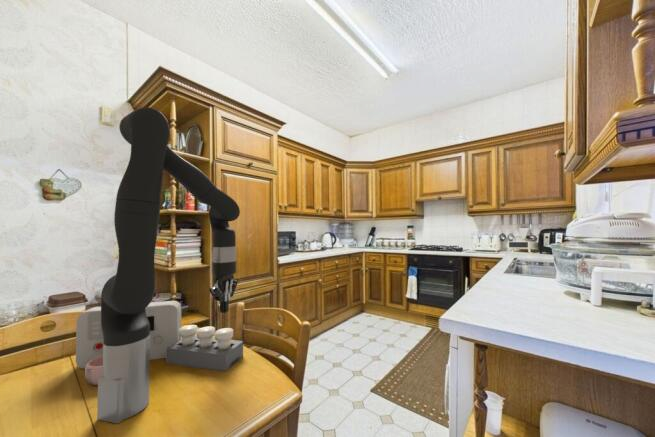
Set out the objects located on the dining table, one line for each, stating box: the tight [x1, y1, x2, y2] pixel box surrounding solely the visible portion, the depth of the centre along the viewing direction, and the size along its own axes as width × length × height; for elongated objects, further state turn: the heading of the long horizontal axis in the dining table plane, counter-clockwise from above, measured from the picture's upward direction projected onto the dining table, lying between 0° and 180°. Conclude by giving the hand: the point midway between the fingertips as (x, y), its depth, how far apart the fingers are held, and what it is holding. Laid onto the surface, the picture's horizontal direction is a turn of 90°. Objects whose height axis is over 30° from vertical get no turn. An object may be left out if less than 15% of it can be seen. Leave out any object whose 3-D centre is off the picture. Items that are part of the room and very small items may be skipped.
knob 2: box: [196, 326, 216, 348], centre depth 88 cm, size 6×6×6 cm
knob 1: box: [179, 324, 198, 346], centre depth 90 cm, size 6×6×6 cm
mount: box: [165, 335, 244, 372], centre depth 88 cm, size 10×22×5 cm, turn 77°
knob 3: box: [214, 327, 234, 351], centre depth 87 cm, size 6×6×6 cm
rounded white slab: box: [75, 300, 182, 369], centre depth 88 cm, size 29×8×18 cm, turn 107°
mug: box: [84, 355, 103, 386], centre depth 78 cm, size 12×10×6 cm
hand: (224, 311), depth 87 cm, fingers closed
